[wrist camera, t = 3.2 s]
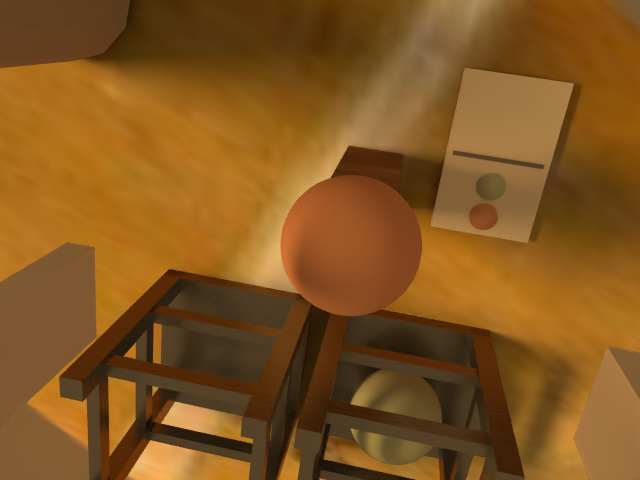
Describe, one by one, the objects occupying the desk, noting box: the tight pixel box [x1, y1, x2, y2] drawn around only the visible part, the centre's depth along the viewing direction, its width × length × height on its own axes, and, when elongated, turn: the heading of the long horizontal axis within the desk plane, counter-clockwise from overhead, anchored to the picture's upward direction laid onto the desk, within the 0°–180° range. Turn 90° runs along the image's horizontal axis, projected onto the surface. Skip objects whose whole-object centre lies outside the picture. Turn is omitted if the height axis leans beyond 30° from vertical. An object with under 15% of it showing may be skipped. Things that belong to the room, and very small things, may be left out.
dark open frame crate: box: [294, 310, 525, 480], centre depth 28 cm, size 9×9×11 cm
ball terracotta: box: [281, 175, 422, 316], centre depth 20 cm, size 5×5×5 cm
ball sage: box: [350, 369, 442, 465], centre depth 30 cm, size 5×5×5 cm
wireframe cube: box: [59, 270, 313, 480], centre depth 29 cm, size 9×9×11 cm
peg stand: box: [331, 146, 403, 193], centre depth 25 cm, size 3×3×8 cm
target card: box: [430, 67, 574, 243], centre depth 27 cm, size 8×5×1 cm, turn 173°
